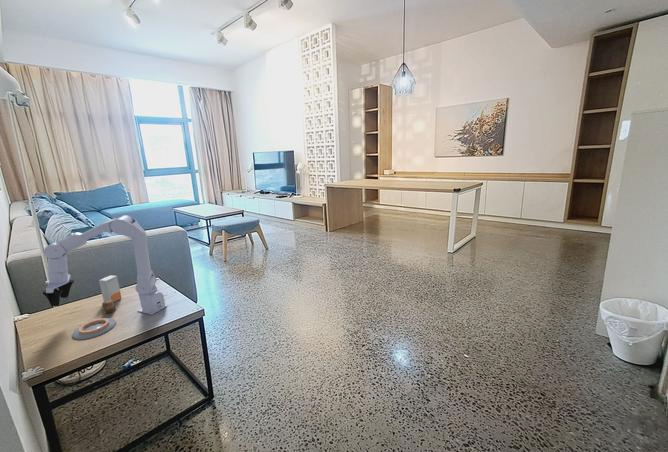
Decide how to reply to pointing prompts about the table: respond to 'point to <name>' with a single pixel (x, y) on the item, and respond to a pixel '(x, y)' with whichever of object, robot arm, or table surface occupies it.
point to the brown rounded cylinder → (108, 307)
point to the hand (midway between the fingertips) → (59, 301)
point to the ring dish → (94, 328)
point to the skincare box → (110, 288)
